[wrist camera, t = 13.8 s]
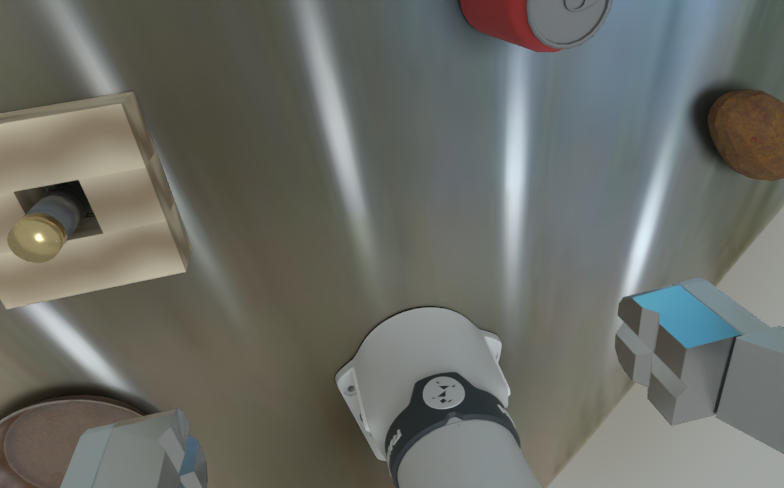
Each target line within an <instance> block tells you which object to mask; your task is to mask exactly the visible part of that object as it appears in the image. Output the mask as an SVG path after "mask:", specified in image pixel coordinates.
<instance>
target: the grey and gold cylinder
mask: <svg viewBox="0 0 784 488" xmlns="http://www.w3.org/2000/svg"><path fill="white" fill-rule="evenodd" d="M90 208H91V206H90V203H89V201H88V199H87V197H86V195H85V193H84V190H83V188H82V186H81V184H80V182H79V180H75V181H69V182H64V183H59V184H54V185H53V186H52V187H51V188H50V189H49V190H48V191H47V193H46V194H45V195H44V196H43V197H42V198H41V199H40V200H39V201H38V202H37V203H36V204H35V205H34V206H33V207H32V208H31V209H30V210H29V211H28V212H27V213H26V214H25V215H24V216H23V218H22V219H21V220H20V221H19V222H18V223H17V224H16V225H15V226H14V227H13V228H12V229H11V230H10V232H9V233H8V236H7V242H8V246H9V248H10V249H11V251H12V252H13V253H14V254H15V255H16V256H18V257H19V258H21V259H23V260H25V261H28V262H33V263H44V262H47V261H50V260H52V259H53V258H54V257H55V256H56V255H57V254H58V253H59V251H60V250H61V248H62V247H63V246H64V244H65V243H66V241H67V240H68V239H69V237H70V236H71V235H72V233H73V232H74V230H75V229H76V228H77V226H78V225H79V223H80V222H81V221H82V219H83V218H84V217H85V215H86V214H87V212H88V211H89V210H90Z"/></svg>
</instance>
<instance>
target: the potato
mask: <svg viewBox="0 0 784 488" xmlns="http://www.w3.org/2000/svg"><path fill="white" fill-rule="evenodd" d="M707 119H708V125H709V131H710V134H711V136H712V139H713V142H714V144H715V146H716V148H717V150H718V152H719V153H720V155H721V156H722V158H723V160H724V161H725V163H726V164H727V165H728V166H729V167H730V168H732V169H733V170H735V171H736V172H738V173H740V174H743V175H745V176H747V177H749V178H754V179H760V180H768V181H774V180H778V179H782V178H784V103H782V102H781V101H780V100H778V99H777V98H775V97H773V96H771V95H769V94H767V93H765V92H763V91H759V90H745V89H743V90H736V91H731V92H728V93H726V94H724V95H722V96H720V97H719V98H718V99H717V100H716V101H715V102H714V104H713V105H712V106H711V108H710V112H709V115H708V118H707Z"/></svg>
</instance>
